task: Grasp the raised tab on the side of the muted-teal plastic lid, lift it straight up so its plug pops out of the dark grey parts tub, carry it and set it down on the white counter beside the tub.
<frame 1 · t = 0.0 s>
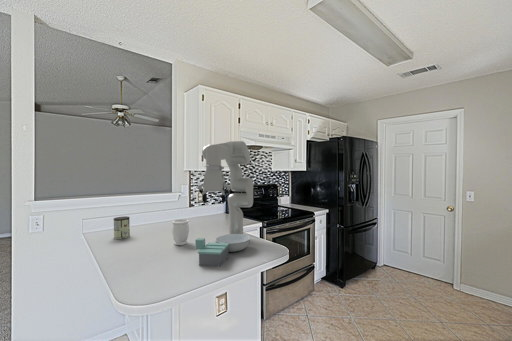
hand: (214, 202, 124), 31 cm above the counter, fingers open, 9 cm apart
serving bowl: (232, 249, 147), on the counter
tub: (214, 260, 130), on the counter
coffee can: (121, 237, 179), on the counter
jar: (180, 243, 160), on the counter
lid: (214, 252, 130), point 4 cm above the counter, touching tub
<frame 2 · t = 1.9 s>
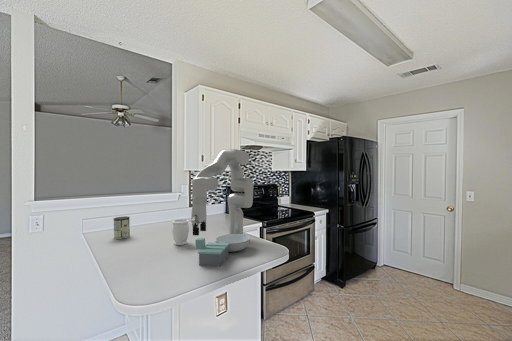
hand: (199, 233, 130), 14 cm above the counter, fingers open, 9 cm apart
nothing on the counter moved.
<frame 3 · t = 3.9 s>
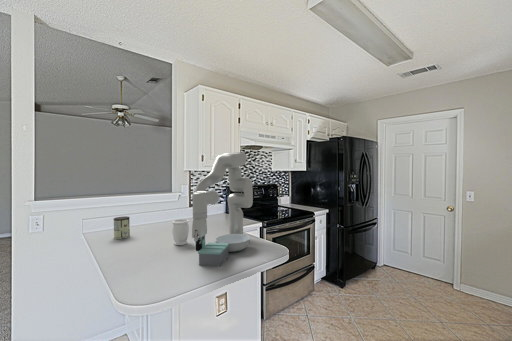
hand: (200, 249, 131), 6 cm above the counter, fingers closed on lid, 3 cm apart
lid: (214, 252, 130), point 4 cm above the counter, touching gripper, tub
everything else where it was.
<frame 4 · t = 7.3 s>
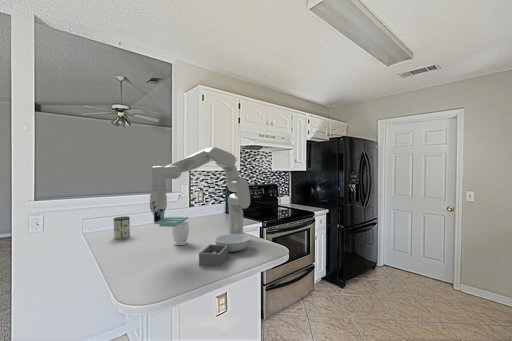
hand: (159, 221, 135), 20 cm above the counter, fingers closed on lid, 3 cm apart
lid: (172, 224, 133), point 19 cm above the counter, touching gripper
everything else where it was.
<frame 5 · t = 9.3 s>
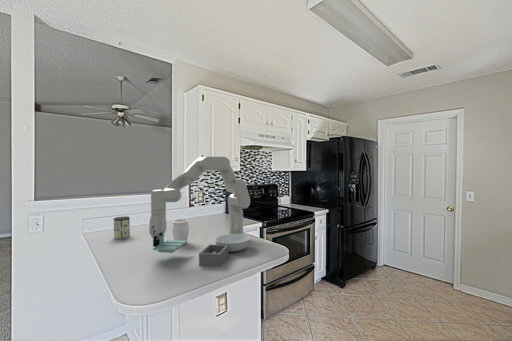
hand: (158, 245, 135), 7 cm above the counter, fingers closed on lid, 3 cm apart
lid: (171, 248, 133), point 5 cm above the counter, touching gripper
everything else where it was.
when the fingers open (3 cm above the counter, at t = 10.7 s): lid drops 1 cm, on the counter.
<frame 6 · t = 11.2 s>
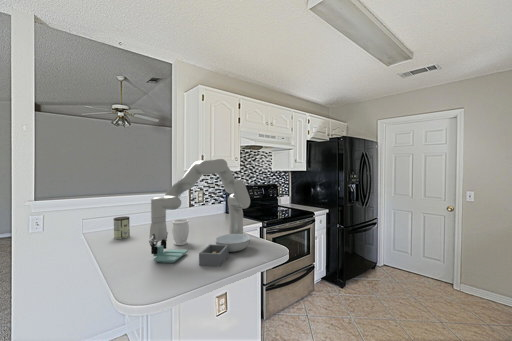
hand: (159, 251, 135), 4 cm above the counter, fingers open, 8 cm apart
lid: (171, 258, 134), on the counter
everything else where it was.
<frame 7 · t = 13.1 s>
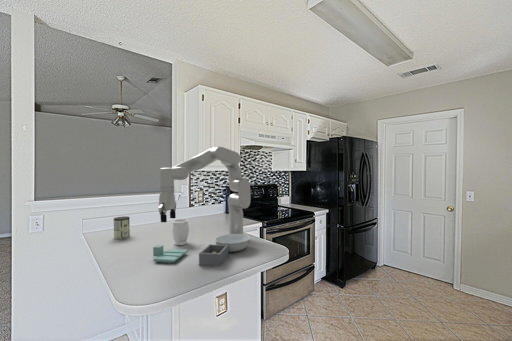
hand: (168, 220, 138), 20 cm above the counter, fingers open, 9 cm apart
nothing on the counter moved.
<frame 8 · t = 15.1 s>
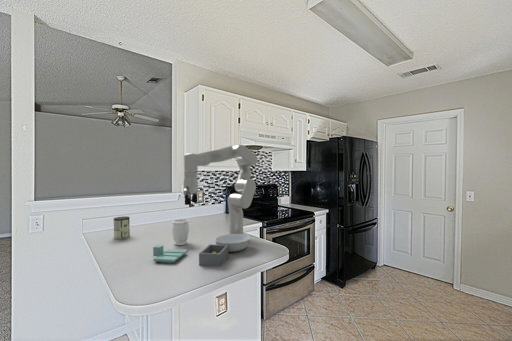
hand: (191, 203, 144), 28 cm above the counter, fingers open, 9 cm apart
nothing on the counter moved.
at the end: lid inside the target area (0.6 cm from its centre), on the counter; lid on the counter; lid touching counter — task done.
